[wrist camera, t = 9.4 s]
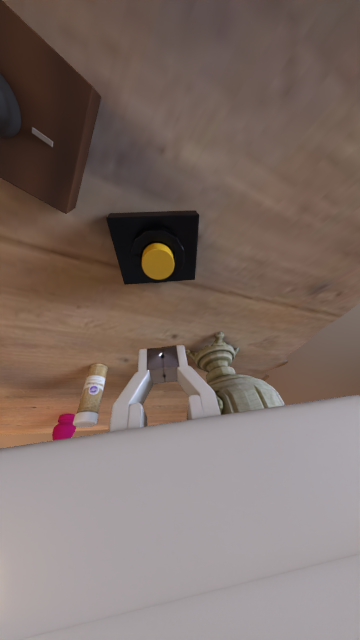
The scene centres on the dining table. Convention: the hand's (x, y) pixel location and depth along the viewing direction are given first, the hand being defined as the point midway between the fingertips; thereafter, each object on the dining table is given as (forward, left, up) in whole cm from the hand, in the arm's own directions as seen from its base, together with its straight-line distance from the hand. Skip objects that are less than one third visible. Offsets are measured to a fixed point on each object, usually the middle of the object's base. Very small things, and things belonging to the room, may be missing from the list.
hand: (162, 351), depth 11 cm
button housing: (0, 0, -18) cm, 18 cm away
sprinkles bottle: (+7, +35, -19) cm, 40 cm away
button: (0, 0, -15) cm, 15 cm away
